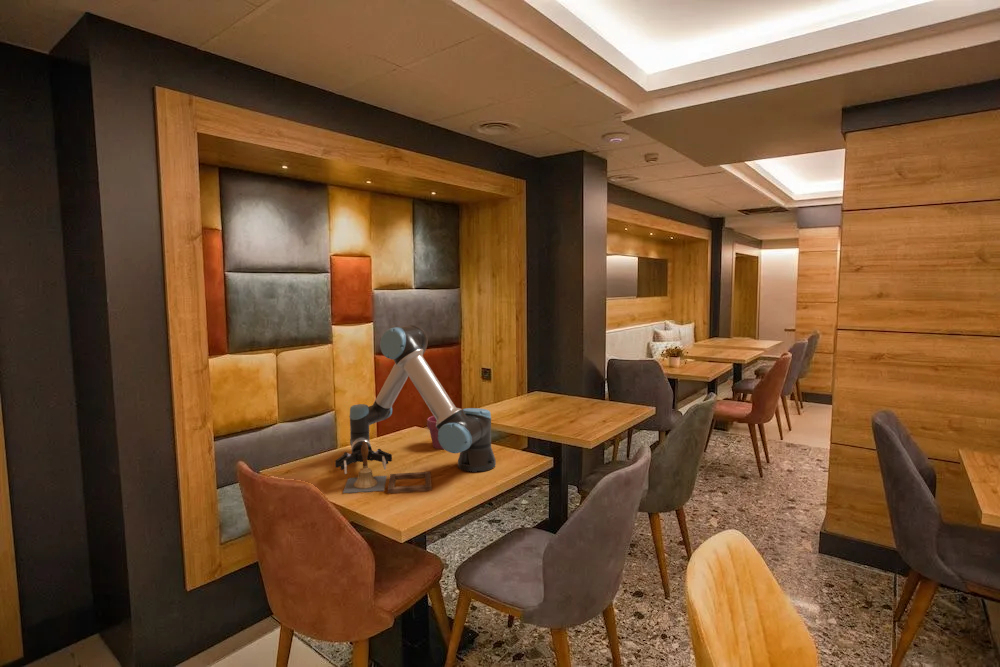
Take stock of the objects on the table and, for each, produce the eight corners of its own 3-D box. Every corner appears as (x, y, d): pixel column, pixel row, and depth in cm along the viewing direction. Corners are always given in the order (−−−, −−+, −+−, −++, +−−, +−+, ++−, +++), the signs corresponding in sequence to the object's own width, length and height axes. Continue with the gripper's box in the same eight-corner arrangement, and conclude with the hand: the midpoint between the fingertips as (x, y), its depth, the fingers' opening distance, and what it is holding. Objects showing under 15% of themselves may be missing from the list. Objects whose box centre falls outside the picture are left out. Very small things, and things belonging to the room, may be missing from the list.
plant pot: (459, 440, 238) (458, 414, 237) (459, 450, 224) (459, 422, 223) (428, 441, 236) (427, 414, 235) (426, 451, 223) (426, 422, 221)
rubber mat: (386, 476, 193) (386, 475, 193) (383, 491, 180) (383, 490, 180) (348, 479, 191) (348, 478, 191) (342, 493, 178) (342, 492, 178)
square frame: (430, 475, 194) (430, 471, 194) (431, 490, 180) (431, 486, 180) (390, 477, 192) (390, 473, 192) (387, 493, 177) (387, 489, 177)
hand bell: (380, 486, 183) (379, 442, 182) (357, 490, 179) (355, 446, 178) (373, 478, 191) (372, 436, 189) (351, 482, 186) (350, 440, 185)
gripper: (393, 455, 206) (401, 473, 186) (328, 462, 198) (329, 482, 178) (393, 437, 205) (400, 453, 185) (328, 444, 197) (328, 461, 177)
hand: (365, 467), depth 182 cm, fingers open, 13 cm apart
